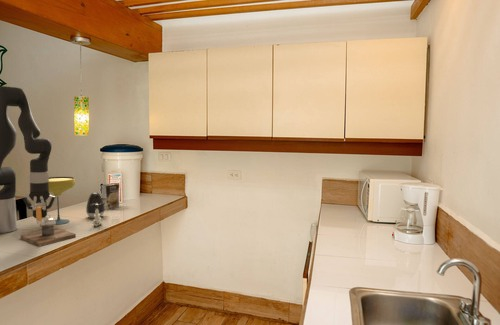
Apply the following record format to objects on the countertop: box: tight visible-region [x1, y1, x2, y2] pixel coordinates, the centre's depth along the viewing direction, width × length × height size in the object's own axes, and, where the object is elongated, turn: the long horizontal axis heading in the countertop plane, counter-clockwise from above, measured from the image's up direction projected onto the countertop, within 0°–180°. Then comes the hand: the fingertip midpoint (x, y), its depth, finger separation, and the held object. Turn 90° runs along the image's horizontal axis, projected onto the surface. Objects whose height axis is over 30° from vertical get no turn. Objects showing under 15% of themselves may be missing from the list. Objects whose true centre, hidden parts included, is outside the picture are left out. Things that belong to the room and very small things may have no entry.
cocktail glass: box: [49, 176, 76, 226], centre depth 198 cm, size 18×18×25 cm
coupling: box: [35, 206, 57, 228], centre depth 168 cm, size 7×12×11 cm, turn 6°
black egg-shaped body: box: [85, 191, 106, 219], centre depth 211 cm, size 10×10×15 cm
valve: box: [90, 203, 103, 227], centre depth 194 cm, size 7×7×12 cm
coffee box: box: [101, 183, 120, 211], centre depth 233 cm, size 9×6×16 cm
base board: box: [19, 225, 77, 247], centre depth 172 cm, size 19×17×6 cm
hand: (40, 217), depth 164 cm, fingers closed on coupling, 3 cm apart
